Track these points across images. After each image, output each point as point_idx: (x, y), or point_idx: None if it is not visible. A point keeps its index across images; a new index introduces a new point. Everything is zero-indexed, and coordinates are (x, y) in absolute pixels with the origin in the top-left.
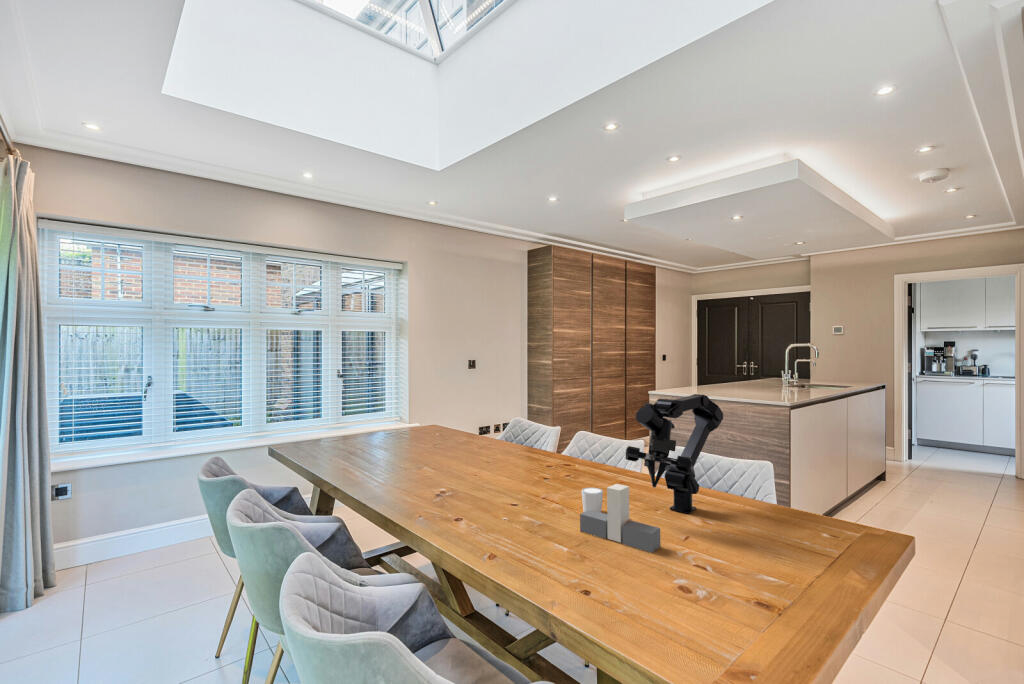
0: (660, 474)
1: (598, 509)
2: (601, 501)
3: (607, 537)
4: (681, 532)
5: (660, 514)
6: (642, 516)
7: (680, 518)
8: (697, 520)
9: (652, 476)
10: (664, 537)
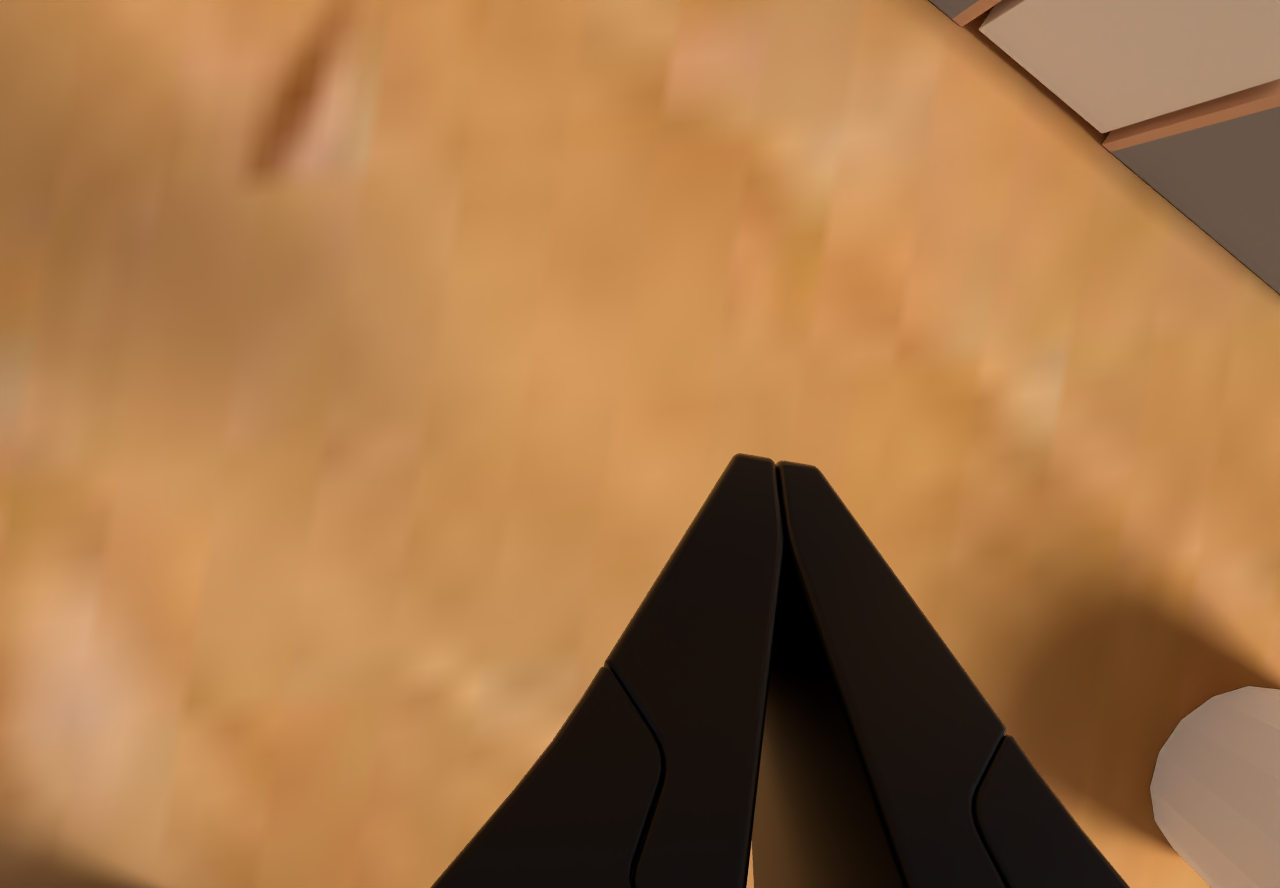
0: (601, 716)
1: (1239, 737)
2: (1274, 824)
3: None
4: (328, 280)
5: None
6: None
7: (269, 746)
8: (58, 713)
9: (918, 654)
10: (564, 93)
